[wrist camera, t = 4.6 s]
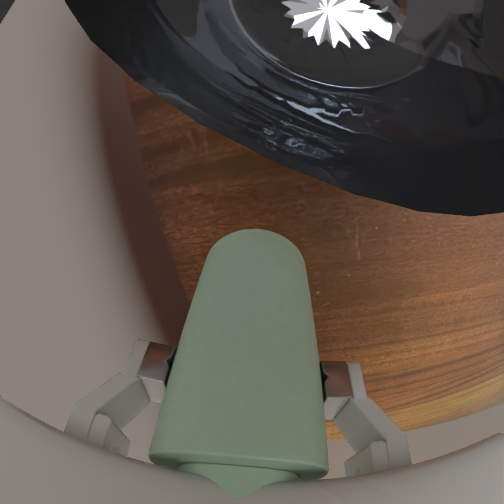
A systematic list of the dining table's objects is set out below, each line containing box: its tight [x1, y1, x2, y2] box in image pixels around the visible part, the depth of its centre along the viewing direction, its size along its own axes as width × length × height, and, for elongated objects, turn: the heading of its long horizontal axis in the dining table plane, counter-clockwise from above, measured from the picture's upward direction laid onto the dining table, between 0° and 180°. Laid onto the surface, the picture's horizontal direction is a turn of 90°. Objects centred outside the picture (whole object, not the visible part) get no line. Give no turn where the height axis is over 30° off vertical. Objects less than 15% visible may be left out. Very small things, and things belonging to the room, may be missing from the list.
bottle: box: [149, 229, 329, 498], centre depth 8 cm, size 5×5×15 cm
